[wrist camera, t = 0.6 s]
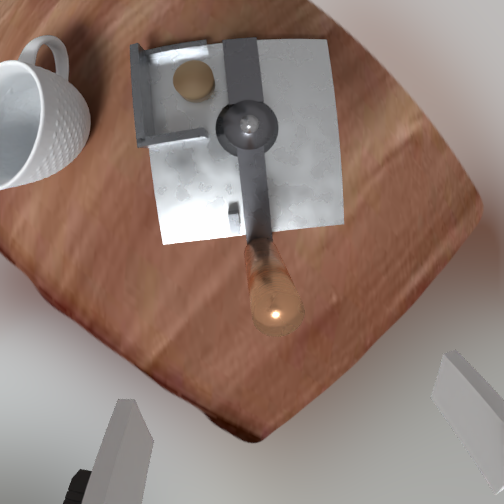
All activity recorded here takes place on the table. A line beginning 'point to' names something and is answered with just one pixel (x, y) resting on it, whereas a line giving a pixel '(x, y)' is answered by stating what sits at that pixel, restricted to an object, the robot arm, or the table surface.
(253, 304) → the lever
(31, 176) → the mug
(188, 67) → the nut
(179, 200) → the grey flat slab fixture
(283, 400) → the table surface
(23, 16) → the table surface
